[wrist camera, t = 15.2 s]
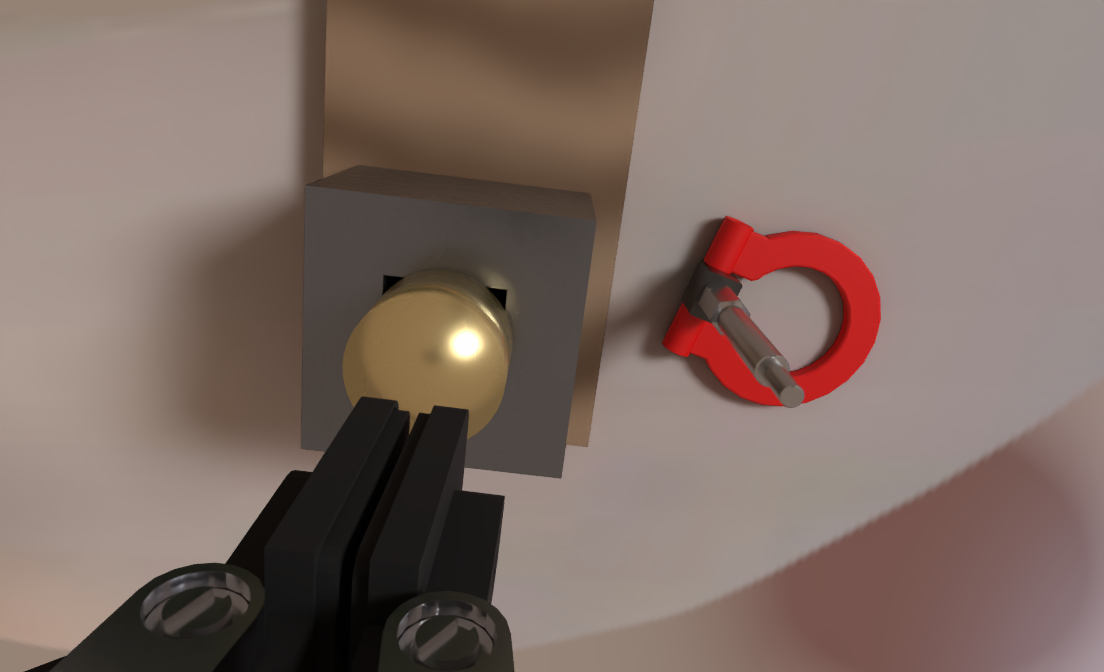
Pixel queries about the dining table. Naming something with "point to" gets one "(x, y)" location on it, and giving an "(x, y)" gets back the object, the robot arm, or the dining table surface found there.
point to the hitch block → (460, 246)
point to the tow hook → (736, 341)
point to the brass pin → (433, 347)
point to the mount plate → (497, 111)
